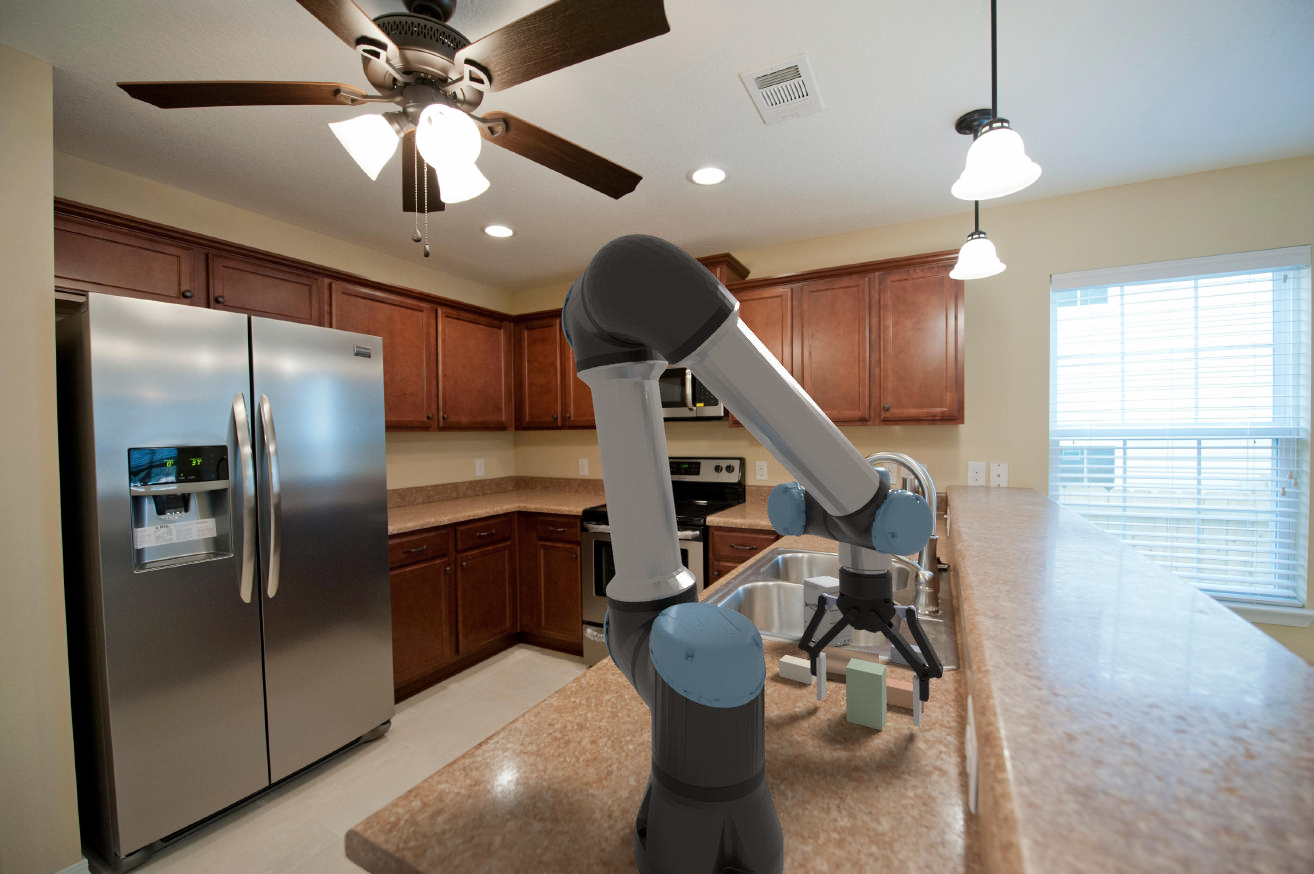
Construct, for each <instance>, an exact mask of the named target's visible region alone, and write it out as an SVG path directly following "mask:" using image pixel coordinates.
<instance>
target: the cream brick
mask: <svg viewBox="0 0 1314 874" xmlns="http://www.w3.org/2000/svg"><path fill="white" fill-rule="evenodd" d="M778 661H779V662H778V663H779V664H778V667H779V668H778V670H779V671H778V673H779V675H778V676H779V677H781V678H784V679H788V680H792V681H796V682H800V683H803V684H807V685H811V686H812V685H814V684H816V683H817V676H812V675H811V672H810V659H809V660H808V659H806V658H805V659H804V658H799V657H796V656H793V655H788V654H785V655H784V656H782V657H781V658H779V660H778Z"/></svg>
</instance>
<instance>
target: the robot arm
mask: <svg viewBox="0 0 1314 874" xmlns="http://www.w3.org/2000/svg"><path fill="white" fill-rule="evenodd" d="M739 309H740V302H739V301H738V300H737V298H736V297H735V296H734V295H733V294H732V293H731V291H729V289H728V288H727V287H726V286H725V285H724V284H723V283H722V281H720V279H718V277H716V275H715V274H713V273H712V272H711V271H710V270H708V268H707V267H706V266H705V265H704V264H702V263H701V262H700V261H699V260H697V259H696V258H695V257H693V256H692V255H691V254H689V253H688V252H687V251H685V250H684V249H682V248H681V247H679V246H678V245H677V244H674V243H672V242H670V241H668V240H666V239H665V238H662V237H658V236H655V235H650V234H641V233H633V234H627V235H623V236H619V237H617V238H614V239H611V240H610V241H609V242H607V243H606V244H605V245H603V246H602V247H600V249H599V250H598V251H597V252H596V254H594V255H593V257H592V259H591V260H590V262H589V264H587V266H586V268H585V269H584V271H583V272H582V273H581V274H580V276H579V277H577V278H576V279H575V281H574V282H573V283H572V284H571V286H570V288H569V289H568V291H567V294H566V296H565V299H564V302H563V305H562V309H561V311H562V312H561V325H562V331H563V334H564V337H565V340H566V341H567V343H568V345H569V347H570V348H571V349H572V351H573V356H574V362H575V363H574V364H575V369H576V377H578V379H579V380H581V381H582V382H584V383H585V384H586V385H587V386H588V387H589V389H590V391H591V392H590V393H591V397H592V407H593V414H594V419H595V420H594V422H595V427H596V437H597V443H598V450H599V451H598V452H599V459H600V464H601V474H602V481H603V486H604V487H603V489H604V496H605V503H606V511H607V518H608V525H609V533H610V539H611V547H612V555H613V564H614V571H615V574H614V576H613V577H612V579H611V580H610V581H609V582H608V584H607V586H606V587H605V588H606V589H605V593H606V600H607V609H606V611H605V614H604V615H605V616H604V620H603V637H604V643H605V646H606V649H607V652H608V655H609V657H610V659H611V660H612V662H613V663H614V665H615V666H616V667H617V669H618V670H619V671H620V672H621V673H622V674H623V675H624V677H625V678H626V679H627V681H628V683H629V684H630V685H631V686H632V687H633V689H634V690H635V691H636V693H637V694H638V695H639V696H640V698H641V699H642V701H643V702H644V703H645V705H646V706H647V707H648V708H649V712H650V723H651V724H650V729H651V732H650V733H651V737H650V738H651V742H650V743H651V745H650V748H651V749H650V750H651V751H650V752H651V767H650V768H651V769H650V770H651V771H650V773H649V774H650V775H649V776H648V779H647V783H646V786H645V789H644V794H643V796H642V799H641V802H640V805H639V809H638V812H637V816H636V818H635V819H636V820H635V825H634V857H635V862H636V865H637V868H638V870H639V873H640V874H783V871H784V870H783V869H784V865H785V864H784V863H785V859H784V857H785V856H784V855H785V854H784V853H785V852H784V849H785V848H784V834H783V829H782V825H781V821H780V819H779V816H778V812H777V809H776V806H775V803H774V800H773V796H772V793H771V791H770V788H769V784H768V781H767V777H766V713H765V712H766V703H765V702H766V696H765V695H766V692H765V691H766V689H765V687H766V683H765V682H766V678H767V666H766V665H767V664H766V663H767V662H766V660H765V650H764V642H763V638H762V634H761V632H760V630H759V629H758V627H757V626H756V625H755V624H754V622H753V621H751V620H750V619H749V618H748V617H747V616H745V615H744V614H742V613H741V612H739V611H737V610H734V609H732V608H730V607H727V606H726V607H719V606H718V605H717V604H714V603H708V602H700V601H699V599H700V598H699V592H698V585H697V578H696V575H695V573H693V572H692V571H691V570H689V569H688V568H687V567H686V566H684V565H683V563H682V561H683V560H682V554H681V553H682V552H681V547H680V545H681V544H680V540H679V538H680V537H679V531H678V523H677V516H676V507H675V501H674V493H673V492H674V491H673V484H672V476H671V469H670V460H669V454H668V445H667V437H666V430H665V422H664V414H663V405H662V400H661V399H662V398H661V391H660V385H659V384H660V383H659V380H660V377H661V376H662V374H663V373H664V372H665V371H666V369H667V368H668V366H669V365H670V366H671V367H673V368H686V369H688V370H689V371H690V372H691V373H692V374H693V376H694V377H695V378H696V379H697V380H698V381H699V382H700V383H701V384H702V385H703V386H704V387H705V388H706V389H707V390H708V391H709V392H710V393H711V394H712V395H713V396H714V397H715V398H716V399H717V401H719V402H720V403H721V404H722V405H723V406H724V407H725V409H726V410H728V412H730V413H731V415H732V416H733V417H734V418H736V420H737V421H738V422H739V423H740V424H741V425H742V426H743V427H744V428H745V429H746V430H747V431H748V432H749V433H750V434H751V435H752V436H753V437H754V438H755V439H756V440H757V441H758V442H759V443H760V445H761V446H763V447H764V448H765V450H767V451H768V453H769V454H770V455H772V457H773V458H774V459H776V460H777V462H778V463H779V464H780V465H781V466H782V467H783V468H784V469H785V470H786V471H787V472H788V473H789V474H790V475H791V476H792V477H793V478H794V479H795V480H794V481H792V482H784V483H779V484H777V485H775V486H774V487H773V488H772V489H771V490H770V492H769V494H768V497H767V501H766V504H767V510H766V513H767V517H768V520H769V523H770V525H771V527H772V528H773V530H774V531H775V532H777V534H778V535H781V536H785V537H787V536H789V537H790V536H794V537H798V538H799V537H802V536H805V535H807V536H808V535H809V536H815V537H817V538H818V537H820V538H823V539H827V540H830V541H835V542H838V564H839V565H841V567H839V568H838V579H839V596H838V597H835V596H831V595H829V593H828V592H823V593H822V594H821V595H820V596H819V597H818V603H817V610H816V612H815V613H814V615H813V617H812V619H811V621H810V623H809V625H808V627H807V629H806V630H805V632H804V631H803V634H802V636H801V638H800V640H799V641H798V645H797V647H798V649H799V650H801V651H804V652H807V653H808V655H809V661H810V672H811V675H812V676H817V680H816V700H817V701H820V702H823V700H824V698H825V697H826V696H827V678H826V653H822V652H821V651H822V650H823V649H824V648H825V647H826V646H827V645H828V644H829V643H830V642H831V641H832V640H833V639H834V638H835V637H836V636H837V635H838V634H839V633H840V632H841V631H842V630H843V629H844V628H845V627H846V626H847V625H848V624H849V625H850V626H851V627H853V630H855V631H867V632H869V633H872V634H876V633H879V632H881V633H882V635H883V636H884V637H885V638H886V639H887V640H889V641H890V643H891V645H892V644H893V645H894V647H895V648H896V649H897V650H898V652H899V653H900V654H901V655H902V657H903V658H904V659H905V660H906V662H907V663H908V664H909V665H908V666H909V667H910V668H911V669H912V670H913V672H914V673H913V676H912V683H913V709H912V710H913V715H912V716H913V726H915V727H916V726H917V727H921V726H920V725H921V722H922V718H923V717H922V716H923V715H922V711H921V701H924V702H925V703H928V701H929V699H930V690H931V689H930V680H931V679H937V680H939V679H942V677H943V675H944V674H943V673H944V666H943V664H942V662H941V660H940V658H939V656H938V655H937V653H936V651H935V649H934V647H933V645H932V643H931V642H930V639H929V637H928V635H927V634H926V631H925V630H924V628H923V626H922V625H921V622H920V620H919V617H918V608H917V606H916V605H915V604H913V603H909V604H908V605H896V604H895V602H894V598H893V596H894V595H893V593H894V592H893V591H894V590H893V572H892V571H891V570H890V569H891V568H892V567H893V555H894V556H895V555H896V556H901V557H910V556H914V555H916V554H918V553H919V552H922V550H924V548H925V547H926V545H927V544H928V542H929V540H930V539H931V537H932V535H933V531H934V515H933V511H932V509H931V506H930V504H929V502H927V500H926V499H925V497H923V496H922V495H920V494H918V493H916V492H913V491H912V492H911V491H909V490H906V489H903V488H893V487H892V486H891V478H890V477H891V476H890V472H889V471H888V470H887V469H886V468H885V467H884V466H876V465H875V466H874V465H871V463H869V462H868V460H867V459H866V458H865V457H864V456H863V455H862V454H861V452H860V451H859V450H858V449H857V448H856V447H855V445H853V444H852V442H851V441H850V440H849V439H848V438H847V436H846V435H844V433H843V432H842V431H841V430H840V429H839V427H837V425H835V424H834V422H833V421H832V420H831V419H830V418H829V417H828V416H827V415H826V413H825V412H824V411H823V410H822V408H820V406H819V405H818V404H817V403H816V402H815V401H814V400H813V398H811V396H810V395H809V394H808V393H807V392H806V391H805V390H804V388H803V387H802V386H801V385H800V384H799V383H798V382H797V381H796V380H795V378H793V376H792V375H791V374H790V373H789V372H788V371H787V370H786V369H785V367H784V366H783V365H782V364H781V363H780V362H779V361H778V359H777V358H776V357H775V356H774V355H773V354H772V353H771V352H770V351H769V350H768V348H767V347H766V346H765V345H764V343H762V342H761V340H759V339H758V337H757V336H756V335H755V334H754V332H752V331H751V330H750V328H749V327H748V326H747V325H746V324H745V323H744V321H743V320H742V318H740V316H739V313H740V310H739ZM833 605H836V606H837V607H838V609H839V610H840V612H841V613H842V615H843V616H842V617H841V618H840V620H839V621H838V622H837V623H836V624H835V625H834V626H833V627H832V628H831V629H830V630H829V631H828V632H827V633H826V634H825V635H824V636H823V637H822V638H821V639H820V640H819V641H818V642H815V643H814V642H812V641H813V640H812V638H813V636H814V634H815V632H816V630H817V629H818V627H819V625H820V623H821V621H822V619H823V617H824V615H825V614H826V612H827V610H829V609H831V608H832V607H833ZM896 615H898V616H900V619H901V620H902V621H903V622H904V623H906V624H907V627H908V630H909V631H910V633H911V635H912V638H913V639H914V641H915V643H916V646H918V647H919V649H920V651H921V653H922V655H923V657H924V659H925V660H926V662H927V664H928V666H927V665H926V664H925V663H924V662H923V660H922V659H921V658H920V657H919V655H918V654H917V653H916V652H915V651H914V649H913V648H912V647H911V646H910V645H911V644H910V643H909V641H907V640H906V638H905V637H904V636H903V634H901V632H900V631H899V628H898V627H897V626H896V624H895V623H894V622H893V621H892V620H893V618H894V617H895V616H896ZM820 652H821V653H820Z"/></svg>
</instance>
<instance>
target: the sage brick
mask: <svg viewBox="0 0 1314 874" xmlns="http://www.w3.org/2000/svg"><path fill="white" fill-rule="evenodd" d="M886 678H887V665H886V664H883V663H879V664H878V663H873V662H868V661H863V660H859V659H854V658H851V660H850V662H849V663H848V665H847V666H846V681H845V693H846V694H845V695H846V697H845V698H846V699H845V703H846V705H845V706H846V708H845V709H846V710H845V711H846V716H845V717H846V722H848V723H852V724H856V725H859V726H863V727H868V728H871V729H875V730H879V731H883V730H884V727H885V724H886V722H887V718H888V711H887V707H888V705H887V704H888V703H887V693H886Z"/></svg>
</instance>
